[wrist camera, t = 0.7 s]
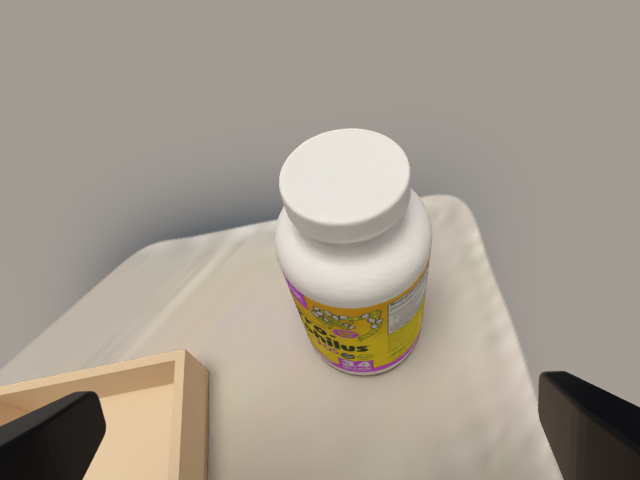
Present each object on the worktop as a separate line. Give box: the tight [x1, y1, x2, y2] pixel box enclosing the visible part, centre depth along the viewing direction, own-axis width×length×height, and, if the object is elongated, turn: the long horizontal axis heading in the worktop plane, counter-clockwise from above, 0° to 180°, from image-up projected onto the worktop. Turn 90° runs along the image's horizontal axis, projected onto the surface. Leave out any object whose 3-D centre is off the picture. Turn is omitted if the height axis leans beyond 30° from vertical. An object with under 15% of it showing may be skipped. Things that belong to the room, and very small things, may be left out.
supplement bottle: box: [274, 129, 432, 375], centre depth 20 cm, size 7×7×13 cm
